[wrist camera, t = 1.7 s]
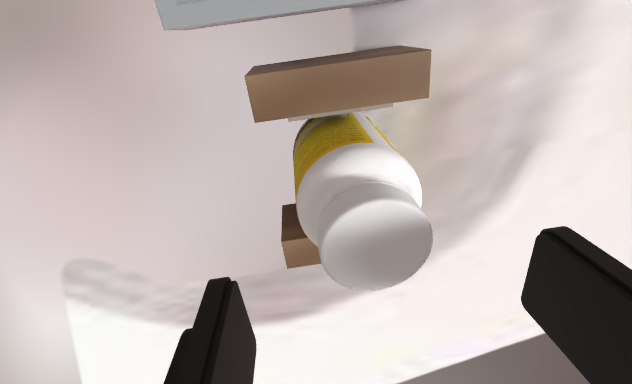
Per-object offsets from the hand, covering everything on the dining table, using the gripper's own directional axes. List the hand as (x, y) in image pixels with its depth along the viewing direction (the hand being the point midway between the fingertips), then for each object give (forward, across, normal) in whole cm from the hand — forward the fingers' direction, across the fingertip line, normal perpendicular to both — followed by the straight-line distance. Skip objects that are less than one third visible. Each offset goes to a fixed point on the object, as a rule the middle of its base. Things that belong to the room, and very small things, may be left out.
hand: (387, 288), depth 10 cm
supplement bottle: (+11, 0, -1) cm, 11 cm away
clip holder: (+11, 0, -1) cm, 11 cm away
